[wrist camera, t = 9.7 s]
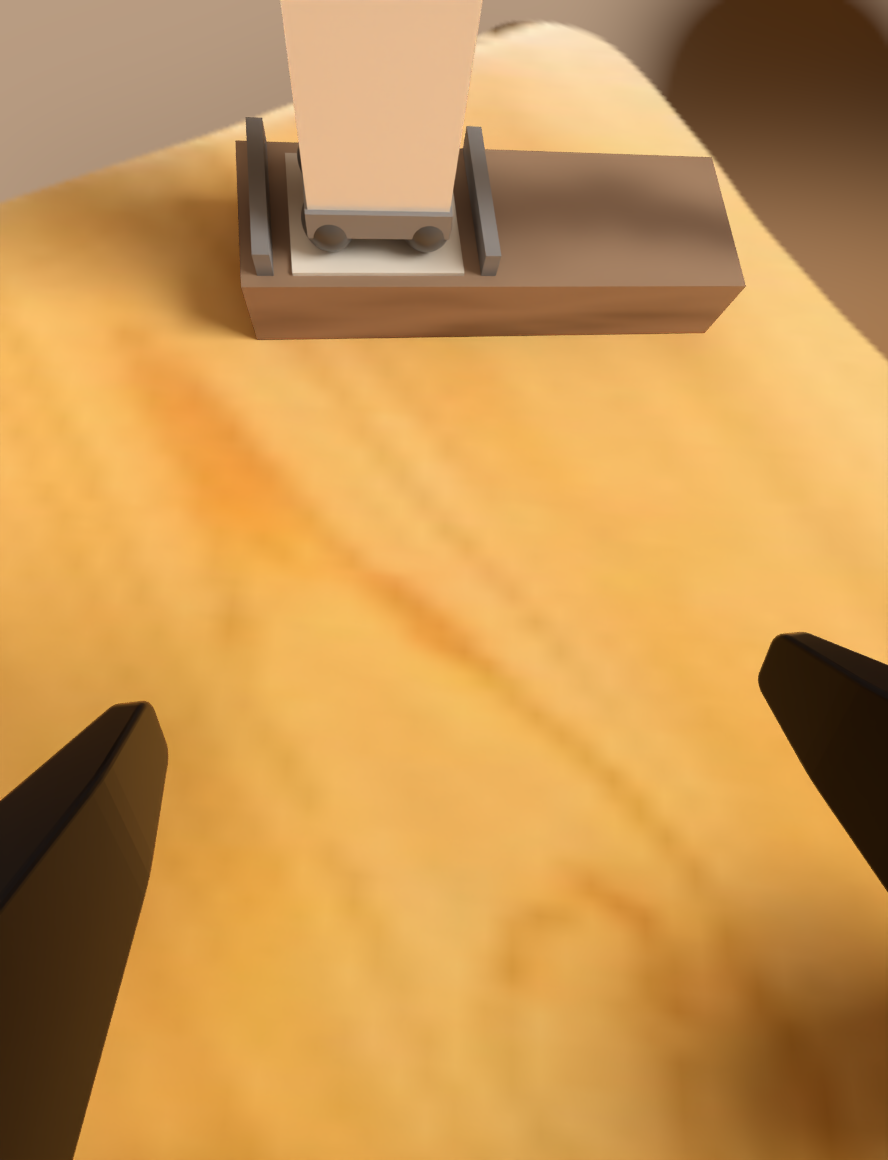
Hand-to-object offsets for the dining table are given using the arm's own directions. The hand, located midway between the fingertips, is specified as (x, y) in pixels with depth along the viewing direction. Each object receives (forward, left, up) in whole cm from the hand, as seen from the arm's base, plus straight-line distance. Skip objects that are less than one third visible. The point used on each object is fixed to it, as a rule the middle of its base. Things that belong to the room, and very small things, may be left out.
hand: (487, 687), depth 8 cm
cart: (+17, +9, -10) cm, 21 cm away
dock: (+19, +4, -13) cm, 24 cm away
